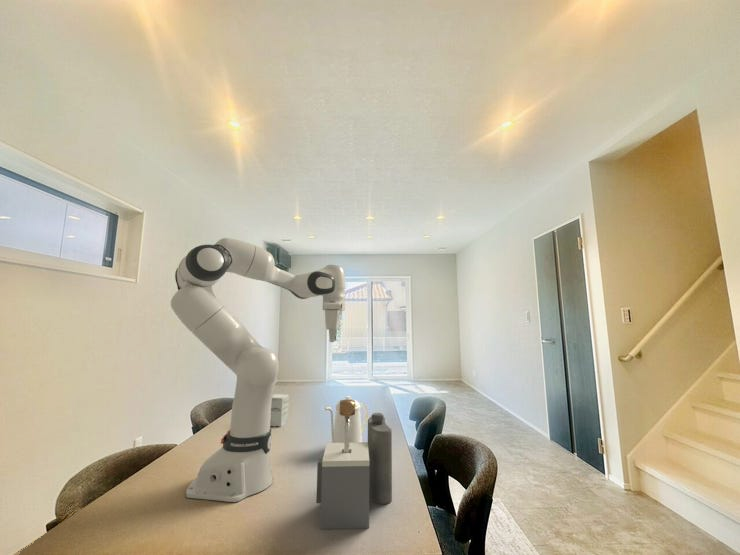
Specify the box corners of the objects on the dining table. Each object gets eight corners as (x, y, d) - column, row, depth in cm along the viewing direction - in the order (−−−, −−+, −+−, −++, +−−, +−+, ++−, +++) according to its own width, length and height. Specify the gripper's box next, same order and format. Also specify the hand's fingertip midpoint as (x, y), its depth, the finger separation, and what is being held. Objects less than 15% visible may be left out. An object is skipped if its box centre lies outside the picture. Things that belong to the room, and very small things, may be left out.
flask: (365, 476, 91) (365, 407, 94) (383, 475, 92) (383, 406, 95) (371, 505, 77) (371, 422, 80) (393, 504, 77) (393, 421, 80)
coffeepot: (310, 457, 104) (312, 400, 107) (356, 436, 124) (357, 389, 127) (333, 466, 98) (334, 405, 101) (378, 443, 117) (378, 392, 120)
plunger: (331, 515, 70) (333, 404, 74) (333, 499, 77) (335, 398, 81) (359, 514, 70) (360, 404, 74) (359, 498, 77) (360, 398, 81)
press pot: (313, 529, 68) (315, 461, 70) (319, 501, 78) (320, 442, 81) (369, 528, 68) (369, 460, 70) (367, 500, 79) (367, 442, 81)
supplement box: (265, 426, 136) (267, 397, 138) (273, 421, 143) (275, 393, 145) (281, 427, 135) (282, 397, 137) (288, 422, 142) (289, 394, 144)
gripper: (328, 307, 130) (327, 340, 128) (322, 304, 110) (321, 342, 107) (342, 307, 130) (342, 340, 128) (340, 304, 110) (339, 342, 108)
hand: (332, 341), depth 118 cm, fingers open, 8 cm apart
